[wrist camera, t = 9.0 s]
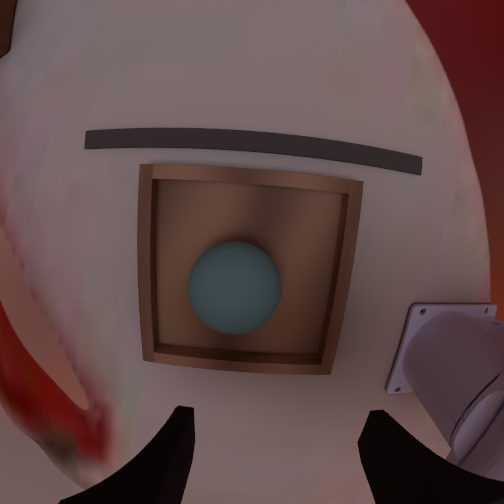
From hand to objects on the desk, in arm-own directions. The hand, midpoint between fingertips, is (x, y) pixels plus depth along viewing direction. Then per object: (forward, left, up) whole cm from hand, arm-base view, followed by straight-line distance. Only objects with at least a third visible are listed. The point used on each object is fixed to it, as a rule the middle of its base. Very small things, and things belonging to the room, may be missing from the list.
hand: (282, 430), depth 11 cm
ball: (+2, -3, -7) cm, 8 cm away
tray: (+2, -3, -10) cm, 11 cm away
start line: (+2, -11, -10) cm, 15 cm away
